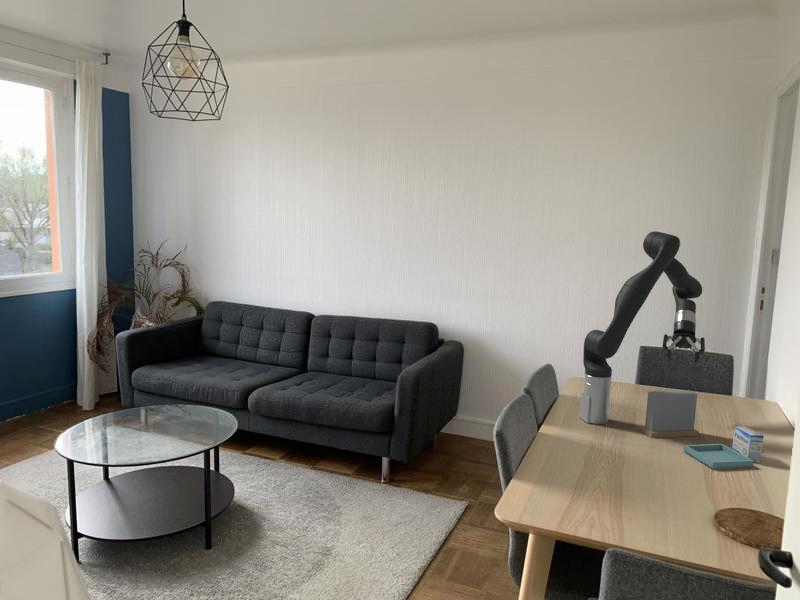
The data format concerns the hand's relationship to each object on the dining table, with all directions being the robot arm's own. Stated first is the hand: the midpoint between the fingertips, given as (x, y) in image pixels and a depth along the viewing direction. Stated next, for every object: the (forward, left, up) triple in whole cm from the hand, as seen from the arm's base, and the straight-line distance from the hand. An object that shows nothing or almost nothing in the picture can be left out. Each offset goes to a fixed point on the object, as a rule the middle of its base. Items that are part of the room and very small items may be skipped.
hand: (682, 361), depth 217 cm
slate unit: (-12, -13, -22) cm, 28 cm away
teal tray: (-11, -36, -22) cm, 44 cm away
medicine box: (0, -35, -23) cm, 42 cm away
